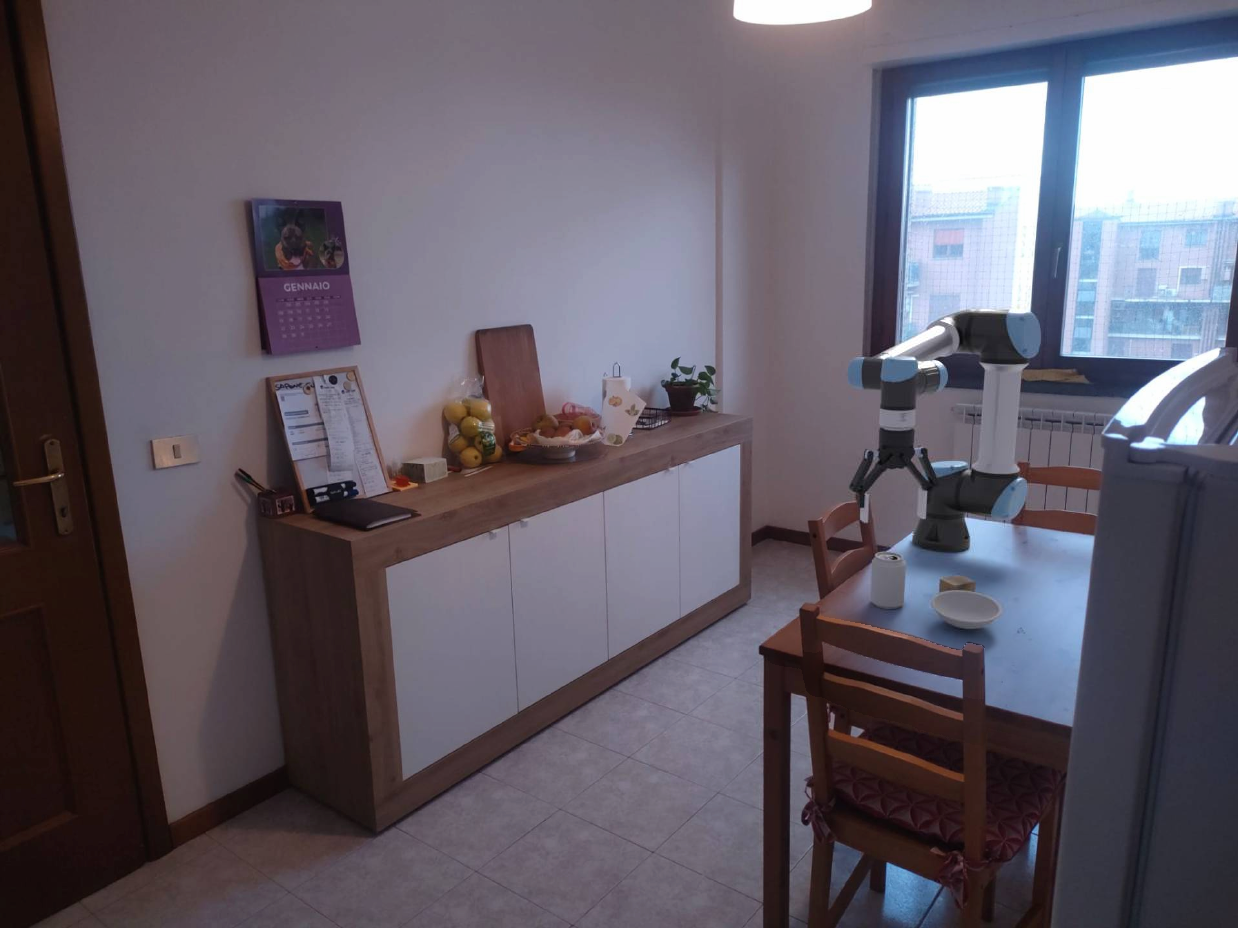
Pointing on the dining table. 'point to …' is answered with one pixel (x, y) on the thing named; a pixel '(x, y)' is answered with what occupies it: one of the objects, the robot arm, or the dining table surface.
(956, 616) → the dish
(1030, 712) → the dining table surface
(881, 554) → the can
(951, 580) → the walnut block
